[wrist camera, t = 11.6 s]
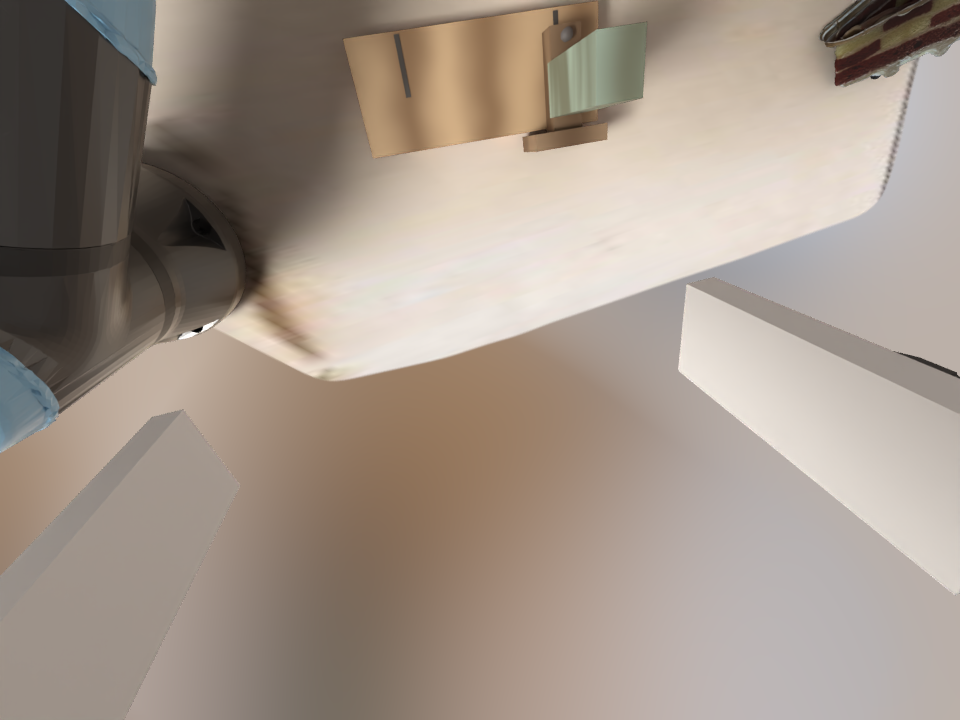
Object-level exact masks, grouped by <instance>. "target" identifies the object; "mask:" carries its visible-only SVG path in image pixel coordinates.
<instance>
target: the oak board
mask: <svg viewBox="0 0 960 720" xmlns="http://www.w3.org/2000/svg"><path fill="white" fill-rule="evenodd" d="M577 21H581V40H582V39H583V38H585V37H586V36H588V35H589V34H591V33H592V32H594V31H595V30H597V29H598V1H592V2H586V3H579V4H572V5H566V6H559V7H552V8H546V9H539V10H532V11H526V12H519V13H512V14H506V15H499V16H492V17H485V18H479V19H472V20H465V21H459V22H452V23H445V24H439V25H432V26H425V27H419V28H412V29H405V30H399V31H392V32H385V33H379V34H372V35H365V36H358V37H352V38H345V39H343V42H344V46H345V50H346V54H347V58H348V62H349V66H350V70H351V74H352V78H353V82H354V85H355V89H356V93H357V97H358V101H359V105H360V109H361V113H362V117H363V121H364V125H365V129H366V133H367V137H368V141H369V144H370V148H371V152H372V156H373V158H379V157H385V156H391V155H397V154H403V153H409V152H415V151H421V150H426V149H432V148H438V147H444V146H450V145H456V144H462V143H468V142H474V141H480V140H485V139H491V138H497V137H503V136H509V135H515V134H521V133H527V132H533V131H539V130H545V129H547V124H546V105H545V85H544V65H543V46H542V33H543V32H544V31H545V30H546V29H547V28H548V27H549V26H551V25H557V24H564V23H570V22H577ZM597 120H598V109H596V110H592V111H588V112H584V113H582V123H586V122H591V121H597Z"/></svg>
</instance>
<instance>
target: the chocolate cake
mask: <svg viewBox="0 0 960 720" xmlns="http://www.w3.org/2000/svg"><path fill="white" fill-rule="evenodd" d="M819 40H821V41H824V42H825V45H826V46H827V47H834V46H837V47H836V51H835V55H836V60H835V69H836V70H835V74H836V76H835V85H836V86H842V87H846V86H848V85H851V84H853V83H856V82H859V81H861V80H864V79H866V78H868V77H871V79H877V78H879V77H880V76H881V75H883V76H884V77H885V78H887V77H890V76H893V75H894V74H896V73H897V72H898V70H899V66H901V65H903V64H905V63H907V62H909V61H911V60H914V59H916V58H918V57H921V56H923V55H925V54H927V53H931V54H933V55H934V56H936V57H940V56H942V55H943V54H944V53H945V52H946V51H947V50H948V49H949V48H950V46H951V45H952V44H953V43H954V42H955V41H957V40H960V0H858V1H857V2H856V3H855V4H854V5H852V6H851V7H850V8H849V9H848V10H846V11H845V12H844V13H843V14H842V15H841V16H839V17H838V18H837V19H835V20H834V21H833V22H832V23H830V24H829V25H828V26H826V27H825V29H823V31H822V33H820V36H819Z"/></svg>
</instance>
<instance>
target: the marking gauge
mask: <svg viewBox="0 0 960 720" xmlns="http://www.w3.org/2000/svg"><path fill="white" fill-rule="evenodd" d="M646 33H647V22H642V23H636V24H629V25H623V26H616V27H610V28H603V29H597V30H595V31H594V32H592V33H591V34H589V35H588V36H586V37H585V38H583V39H582V40H581V21H577V22H570V23H564V24H557V25H551V26H549V27H548V28H547V29H546V30H545V31H544V32H543V33H542V46H543V65H544V85H545V105H546V124H547V133H543V134H537V135H532V136H526V137H523V147H524V152H538V151H544V150H549V149H555V148H561V147H567V146H573V145H578V144H584V143H590V142H596V141H602V140H607V125H608V123H603V124H596V125H590V126H584V127H582V113H584V112H588V111H592V110H596V109H600V108H604V107H608V106H612V105H616V104H620V103H625V102H629V101H633V100H637V99H641V98H643V87H644V69H645V51H646Z"/></svg>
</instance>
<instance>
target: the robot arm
mask: <svg viewBox="0 0 960 720" xmlns="http://www.w3.org/2000/svg"><path fill="white" fill-rule="evenodd" d="M155 14H156V0H0V453H1V452H3V451H5V450H6V449H8V448H10V447H12V446H13V445H15V444H17V443H18V442H20V441H22V440H23V439H25V438H27V437H28V436H30V435H32V434H34V433H35V432H37V431H41V430H43V429H44V428H47V427H48V426H49V425H50V424H52V423H53V422H54V421H56V419H55V418H56V417H58V415H59V414H60V413H62V412H63V411H64V410H65V409H67V408H68V407H70V406H71V405H72V404H74V403H75V402H77V401H78V400H79V399H81V398H82V397H83V396H85V395H86V394H87V393H89V392H90V391H91V390H93V389H94V388H95V387H97V386H98V385H100V384H101V383H102V382H104V381H105V380H106V379H108V378H109V377H110V376H112V375H113V374H114V373H116V372H117V371H118V370H120V369H121V368H123V367H124V366H125V365H126V364H128V363H129V362H131V361H132V360H133V359H135V358H136V357H137V356H139V355H140V354H141V353H143V352H144V351H145V350H147V349H148V348H150V347H151V346H152V345H156V344H161V343H166V342H171V341H175V340H180V339H185V338H189V337H193V336H196V335H199V334H201V333H203V332H205V331H207V330H209V329H211V328H213V327H214V326H215V325H217V324H218V323H219V322H221V321H222V320H223V319H224V318H225V317H226V316H228V315H229V314H230V313H231V312H232V311H233V310H234V308H235V307H236V306H237V304H238V302H239V301H240V299H241V297H242V294H243V291H244V288H245V282H246V264H245V258H244V254H243V251H242V248H241V245H240V242H239V240H238V238H237V236H236V234H235V232H234V230H233V228H232V227H231V225H230V224H229V222H228V221H227V219H226V218H225V217H224V215H223V214H222V213H221V212H220V211H219V209H218V208H217V207H216V206H215V205H214V204H213V203H212V202H211V201H210V200H209V199H208V198H207V197H206V196H204V195H203V194H202V193H201V192H200V191H198V190H197V189H196V188H194V187H193V186H192V185H190V184H189V183H187V182H186V181H184V180H182V179H181V178H179V177H177V176H175V175H173V174H171V173H169V172H167V171H165V170H162V169H160V168H157V167H154V166H151V165H148V164H144V163H141V161H142V154H143V146H144V139H145V131H146V124H147V116H148V109H149V101H150V94H151V86H152V85H154V86H156V82H157V76H156V73H155V71H154V69H153V68H152V61H153V45H154V30H155ZM678 371H679V372H681V373H682V374H683V375H684V376H686V377H687V378H688V379H689V380H690V381H692V382H693V383H694V384H695V385H697V386H698V387H699V388H700V389H702V390H703V391H704V392H705V393H706V394H708V395H709V396H710V397H711V398H713V399H714V400H715V401H716V402H718V403H719V404H720V405H721V406H723V407H724V408H725V409H726V410H727V411H729V412H730V413H731V414H732V415H734V416H735V417H736V418H737V419H738V420H740V421H741V422H742V423H743V424H745V425H746V426H747V427H748V428H750V429H751V430H752V431H753V432H755V433H756V434H757V435H758V436H759V437H761V438H762V439H763V440H764V441H766V442H767V443H768V444H769V445H771V446H772V447H773V448H774V449H775V450H777V451H778V452H779V453H780V454H782V455H783V456H784V457H785V458H787V459H788V460H789V461H790V462H791V463H793V464H794V465H795V466H796V467H798V468H799V469H800V470H801V471H803V472H804V473H805V474H806V475H807V476H809V477H810V478H811V479H812V480H814V481H815V482H816V483H817V484H819V485H820V486H821V487H822V488H823V489H825V490H826V491H827V492H829V493H830V494H831V495H832V496H833V497H835V498H836V499H837V500H839V502H841V503H842V504H843V505H844V506H846V507H847V508H848V509H849V510H851V511H852V512H853V513H854V514H856V515H857V516H858V517H859V518H860V519H862V520H863V521H864V522H865V523H867V524H868V525H869V526H870V527H872V528H873V529H874V530H875V531H877V532H878V533H879V534H880V535H881V536H883V537H884V538H885V539H886V540H888V541H889V542H890V543H891V544H893V545H894V546H895V547H896V548H897V549H899V550H900V551H901V552H902V553H904V554H905V555H906V556H907V557H908V558H910V559H911V560H912V561H913V562H915V563H916V564H917V565H918V566H920V567H921V568H922V569H923V570H925V571H926V572H927V573H928V574H929V575H931V576H932V577H933V578H934V579H936V580H937V581H938V582H939V583H941V584H942V585H943V586H944V587H946V588H947V589H948V590H949V591H951V592H952V593H953V594H954V595H958V594H960V377H959V376H958V375H957V372H954V371H952V370H949V369H946V368H944V367H942V366H939V365H937V364H934V363H932V362H929V361H926V360H924V359H922V358H919V357H915V356H911V355H907V354H903V353H898V352H895V351H891V350H889V349H887V348H884V347H882V346H879V345H877V344H874V343H872V342H869V341H867V340H864V339H862V338H859V337H858V336H855V335H852V334H850V333H848V332H845V331H843V330H841V329H838V328H836V327H833V326H831V325H829V324H826V323H824V322H821V321H819V320H816V319H814V318H812V317H809V316H807V315H804V314H802V313H799V312H797V311H795V310H792V309H790V308H787V307H785V306H783V305H780V304H778V303H775V302H773V301H770V300H768V299H765V298H763V297H761V296H758V295H756V294H754V293H751V292H749V291H746V290H744V289H741V288H739V287H737V286H734V285H731V284H729V283H727V282H724V281H722V280H720V279H717V278H715V277H712V278H708V279H704V280H700V281H697V282H692V283H688V284H687V286H686V297H685V307H684V317H683V327H682V338H681V349H680V359H679V369H678ZM239 487H240V484H239V483H238V481H237V480H236V479H235V478H234V476H233V475H232V473H231V472H230V471H229V469H228V468H227V467H226V465H225V464H224V463H223V461H222V460H221V459H220V457H219V456H218V455H217V453H216V452H215V451H214V449H213V448H212V447H211V445H210V444H209V443H208V441H207V440H206V439H205V438H204V436H203V435H202V433H201V432H200V431H199V429H198V428H197V427H196V425H195V424H194V423H193V421H192V420H191V419H190V417H189V416H188V415H187V413H186V412H185V411H184V410H179V411H175V412H171V413H167V414H163V415H159V416H155V417H152V418H151V419H150V420H149V421H148V422H147V423H146V424H145V425H144V426H143V427H142V428H141V429H140V430H139V432H137V433H136V434H135V435H134V436H133V437H132V439H130V441H129V442H128V443H127V444H126V445H125V446H124V447H123V448H122V449H121V450H120V451H119V452H118V453H117V454H116V455H115V456H114V458H113V459H112V460H110V462H109V463H108V464H107V465H106V466H105V467H104V468H103V469H102V470H101V471H100V472H99V473H98V474H97V475H96V476H95V478H93V479H92V480H91V481H90V482H89V484H88V485H87V486H86V487H85V488H84V489H83V490H82V491H81V492H80V493H79V494H78V495H77V496H76V497H75V498H74V499H73V500H72V501H71V502H70V503H69V505H68V506H67V507H66V508H65V509H64V510H63V511H62V512H61V513H60V514H59V515H58V516H57V517H56V518H55V519H54V520H53V521H52V522H51V523H50V525H48V527H47V528H46V529H45V530H44V531H43V532H42V533H41V534H40V535H39V536H38V537H37V538H36V539H35V540H34V541H33V542H32V543H31V544H30V545H29V546H28V548H27V549H26V550H25V551H24V552H23V553H22V554H21V555H20V556H19V557H18V558H17V559H16V560H15V561H14V562H13V563H12V564H11V565H10V566H9V567H8V568H7V570H6V571H5V572H4V573H3V574H2V575H1V576H0V720H124V719H125V717H126V715H127V713H128V711H129V709H130V707H131V705H132V703H133V701H134V699H135V697H136V695H137V693H138V691H139V689H140V687H141V685H142V683H143V681H144V679H145V677H146V675H147V673H148V671H149V669H150V666H151V665H152V663H153V661H154V659H155V656H156V654H157V652H158V650H159V648H160V646H161V644H162V642H163V640H164V638H165V636H166V634H167V632H168V630H169V628H170V626H171V624H172V622H173V620H174V618H175V616H176V614H177V612H178V610H179V608H180V606H181V604H182V602H183V600H184V598H185V596H186V594H187V592H188V590H189V588H190V586H191V584H192V582H193V580H194V578H195V576H196V574H197V572H198V570H199V568H200V566H201V564H202V562H203V560H204V558H205V556H206V554H207V552H208V550H209V548H210V545H211V544H212V541H213V540H214V537H215V535H216V533H217V531H218V529H219V527H220V525H221V523H222V521H223V519H224V517H225V515H226V513H227V511H228V509H229V507H230V505H231V503H232V501H233V499H234V497H235V495H236V493H237V491H238V489H239Z"/></svg>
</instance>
